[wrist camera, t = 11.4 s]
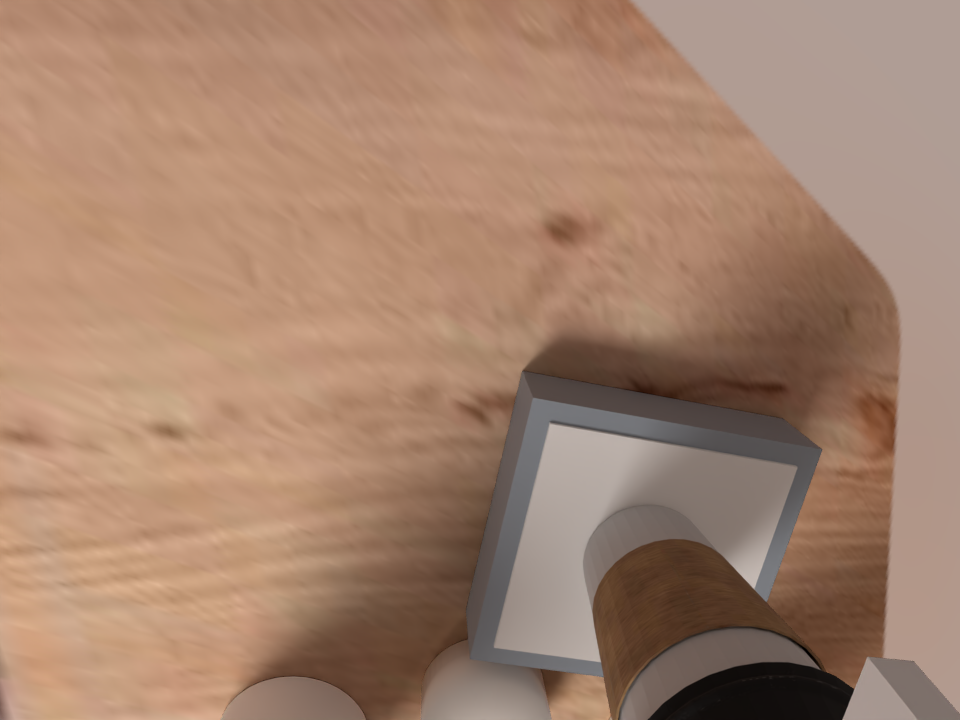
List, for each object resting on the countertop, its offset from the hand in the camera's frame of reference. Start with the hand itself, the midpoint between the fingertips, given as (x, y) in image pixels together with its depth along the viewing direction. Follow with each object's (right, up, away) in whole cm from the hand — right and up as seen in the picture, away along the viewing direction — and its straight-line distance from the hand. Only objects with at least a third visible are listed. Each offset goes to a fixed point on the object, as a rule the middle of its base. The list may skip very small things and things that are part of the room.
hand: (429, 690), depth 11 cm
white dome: (+1, -14, +31) cm, 34 cm away
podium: (+8, -4, +28) cm, 30 cm away
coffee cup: (+9, -5, +24) cm, 26 cm away
